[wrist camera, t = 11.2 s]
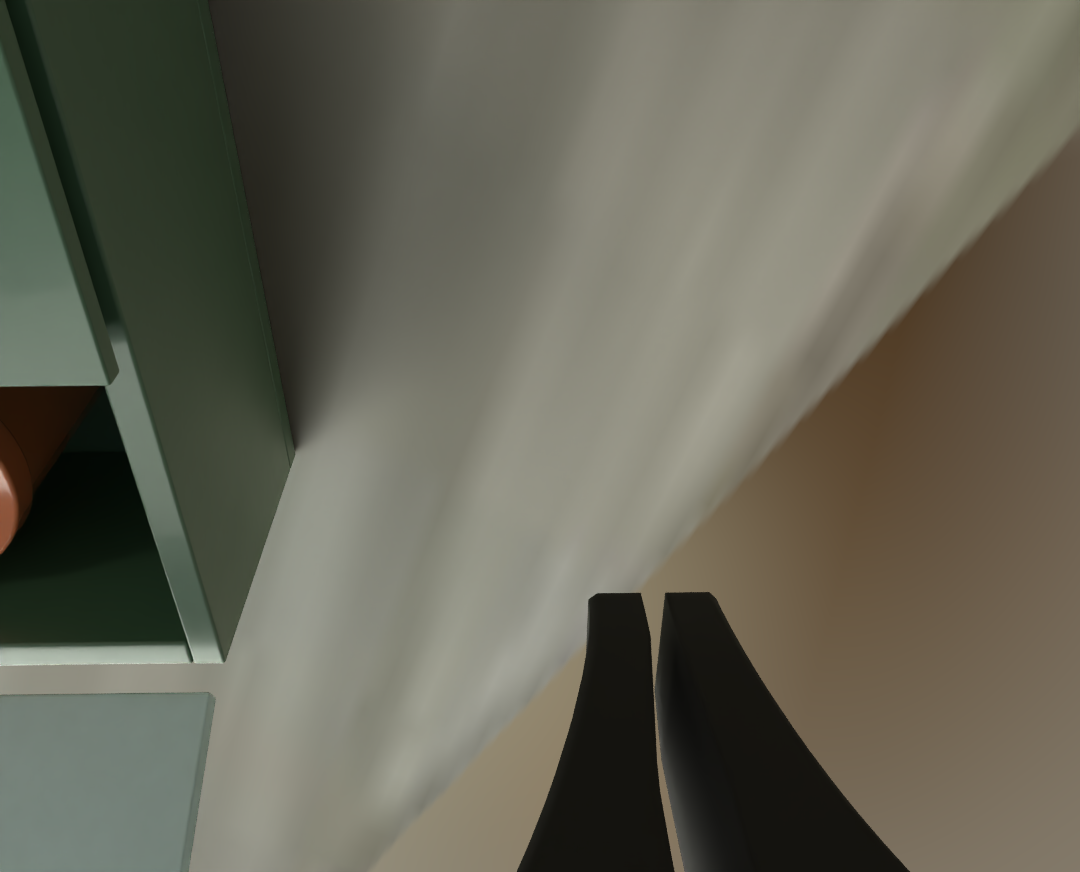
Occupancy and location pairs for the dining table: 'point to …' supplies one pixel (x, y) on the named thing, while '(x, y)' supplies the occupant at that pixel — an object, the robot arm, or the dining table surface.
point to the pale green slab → (101, 780)
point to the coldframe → (133, 336)
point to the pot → (34, 443)
